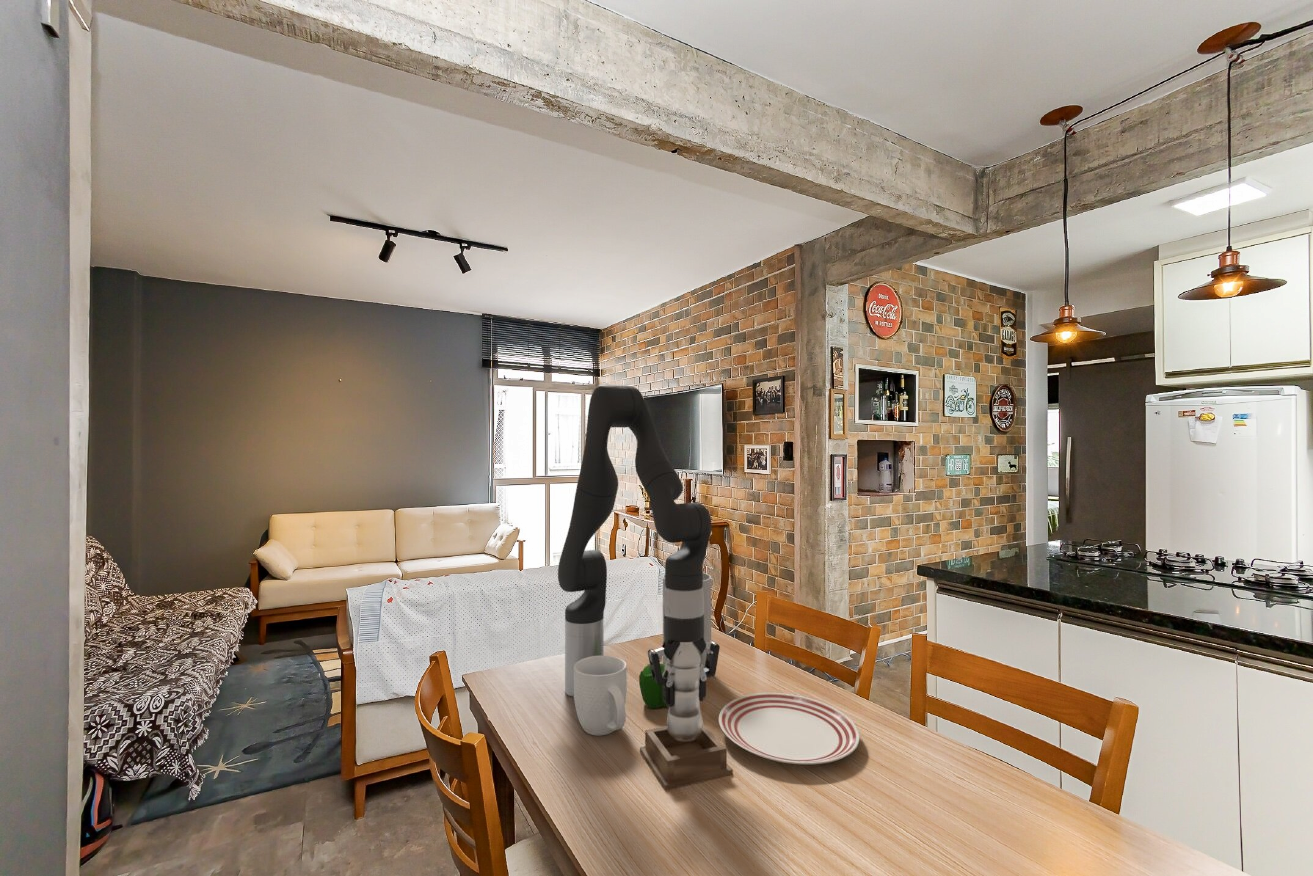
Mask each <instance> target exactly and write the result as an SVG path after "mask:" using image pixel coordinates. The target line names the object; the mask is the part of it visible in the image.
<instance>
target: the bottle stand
mask: <svg viewBox="0 0 1313 876" xmlns="http://www.w3.org/2000/svg"><path fill="white" fill-rule="evenodd" d="M644 734H645V737H644V738H645V739H644V740H645V741H644V743H645V745H644V746H641V747H639V752H640V754H641V756H642V757H643V759H644V760H645V761H646V762H645V763H647V764H648V766H649V768H650V769H651V771H652V772H653V773H654V776H655V777H656V778H657V780H658V781H659V783H660V785H661V786H662V788H663V789H664V790H665V791H669V790H672V789H676V788H681V787H684V786H689V785H693V784H697V783H702V782H705V781H709V780H714V779H718V778H722V777H727V776H730V775H731V776H733V774H734V771H733V768H732V767H731V765H729V764H728V760H727V757H728V756H727V752H728V751H727V746H725V745H724V744H723V742H721V741H720V740H719V738H717V737H716V735H714V733H712V732H711V730H710V729H709V728H708V727H707V726H706V725H705V724H704V723H703V726H702V732H701V734H700V735H699V737H698V738H697V739H695V740H693V741H687V742H683V741H677V740H675V739H673V738H672V737H671V736H670V735H669V733H668V730H667V725H664V726H660V727H655V728H649V729H646V730H645V731H644Z"/></svg>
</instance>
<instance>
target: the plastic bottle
mask: <svg viewBox="0 0 1313 876" xmlns="http://www.w3.org/2000/svg"><path fill="white" fill-rule="evenodd" d="M680 651H682V652H681V653H680V655H679V652H680ZM678 655H679V656H678ZM667 663H668V667H669V668H672V667H673V666H674V667H675V673H676V674H675V675H674V681H673V684H672V686H673V707H668V712H667V717H666V726H667V730H668V733H669V735H670V736H671V737H672V738H673V739H675V740H677V741H683V742H687V741H693V740H695V739H697V738H698V737H699V735H700V734H701V732H702V726H703V724H704V723H703V715H702V711H701V701H700V699H699V686H700V674H701V666H702V665H701V664H702V655H701V652H700V650H699V649H698V648H697V646H696V645H695V644H694V643H693V642H680V646H679V647H678V648H677V650H676V652H675V654H674V655H673V658H672V660H669V659H668V658H667Z"/></svg>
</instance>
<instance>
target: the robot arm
mask: <svg viewBox="0 0 1313 876" xmlns="http://www.w3.org/2000/svg"><path fill="white" fill-rule="evenodd" d="M611 428H628V429H629V430H630V431H631V432H632V433H633V435H634V436H635V439H636V450H635V458H634V463H635V465H634V466H635V471H636V474H637V477H638V478H639V480H640V483H641V485H642V486H643V489H644V491H645V493H646V494H647V496H648V499H649V503H650V507H651V512H652V517H653V523H654V527H655V530H656V532H657V534H658V535H659V536H660V537H661V539H662V540H664V541H666V542H667V543H671V544H675V543H681V545H680V547H679V549H678V550H677V551H676V552H674V553H672V554H670V555H669V556H667V558H666V559H665V565H664V567H665V568H664V574H665V594H664V643H663V642H662V645H661V647H659V648H656V649H652V648H649V649H648V651H647V656H648V661H649V664H650V668H651V673H652V678H653V680H654V681H655V682H656V683H657V684H658V685H663V701H664V702H665V703H666V704H667V705H668V706H667V707H668V708H669V707H673V686H672V684H673V681H674V675H675V674H676V673H675V667H674V666H673V667H672V668H669V667H668V663H667V661H666V664H665V670H664V673H663V676H662V672H661V667H660V664H661V662H663V654H665V656H666V657H667V658H668V659H669V660H672V658H673V655H674V654H675V652H676V650H677V648H678V647H679V646H680V642H693V643H694V644H695V645H696V646H697V648H698V649H699V650H700V652H701V655H702V653H703V652H704V650H705V651H706V652H707V655H706V661H705V667H703V664H701V665H702V666H701V674H700V686H699V699H700V702H703V701H704V698H706V695H707V679H708V678H710V677H715V675H716V673H717V668H718V667H717V666H718V659H719V654H720V650H721V649H720V645H719V644H718V643H717V642H715V641H714V640H712V639H711V640H710V641H709V642H705V640H704V609H705V605H704V594H703V573H704V571H703V570H704V569H703V567H704V566H703V565H704V560H705V557H706V554H707V550H708V546H709V543H710V542H709V541H710V539H711V534H712V517H711V515H710V512H709V510H708V508H707V507H706V506H705V505H704V504H702V503H700V502H688V503H686V502H684V503H683V502H682V503H676V500H677V499H679V498H680V496H681V495H682V493H683V491H684V485H683V482H682V480H681V478H680V477H679V475H678V473H677V471H676V470H675V468H674V466H673V465H672V463H671V461H670V459H669V458H668V455H667V454H666V452H665V450H664V448H663V445H662V444H661V441H660V439H659V435H658V432H657V428H656V427H655V423H654V421H653V419H652V416H651V413H650V410H649V408H648V405H647V402H646V399H645V398H644V396H643V394H642V393H641V391H640V390H639V389H638V388H637V387H635V386H632V385H621V384H619V385H618V384H599V385H598V386H596V387H595V388H594V390H593V391H592V394H591V396H590V400H589V406H588V413H587V422H586V429H585V430H586V432H585V440H584V449H583V455H582V461H581V465H580V470H579V471H580V472H579V476H578V479H577V484H576V488H575V494H574V499H573V500H574V502H573V507H572V512H571V516H570V517H571V518H570V522H569V527H568V530H567V534H566V538H565V540H564V541H565V542H564V544H563V547H562V551H561V554H560V558H559V562H558V568H557V580H558V581H557V582H558V585H559V587H560V589H562V591H564V592H566V593H577V592H582V591H583V593H582V594H581V595H580V596H579V597H578V598H577V599H575V600H574V601H573V602H571V603H569V604H568V605H567V606H566V608H565V610H564V692H565V694H566V695H568V696H569V697H572V698H574V665H575V663H576V662H578V661H579V660H581V659H584V658H587V657H591V656H605V653H604V651H605V650H604V648H605V647H604V645H605V643H604V642H605V641H604V638H605V637H604V636H605V635H604V633H605V631H604V624H605V623H604V620H605V619H604V618H605V617H604V615H605V614H604V613H605V612H604V611H605V608H606V600H607V599H606V598H607V582H608V581H607V580H608V567H607V562H606V561H607V560H606V559H605V556H604V554H603V553H602V552H601V550H597V549H591V550H586V547H587V546H588V543H589V542H590V540H591V539H592V538H593V537H594V535H595V534H596V533H597V532H598V531H599V530H600V528H601V527H602V526H603V524H605V522H606V521H607V519H608V518H609V517H610V515H611V514H612V512H613V511H614V507H615V502H616V498H617V494H618V490H619V478H618V475H617V471H616V469H615V467H614V464H613V462H612V460H611V458H610V455H609V451H608V441H609V435H610V430H611ZM681 652H682V651H680V652H679V655H680V653H681ZM679 655H678V656H679Z"/></svg>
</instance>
